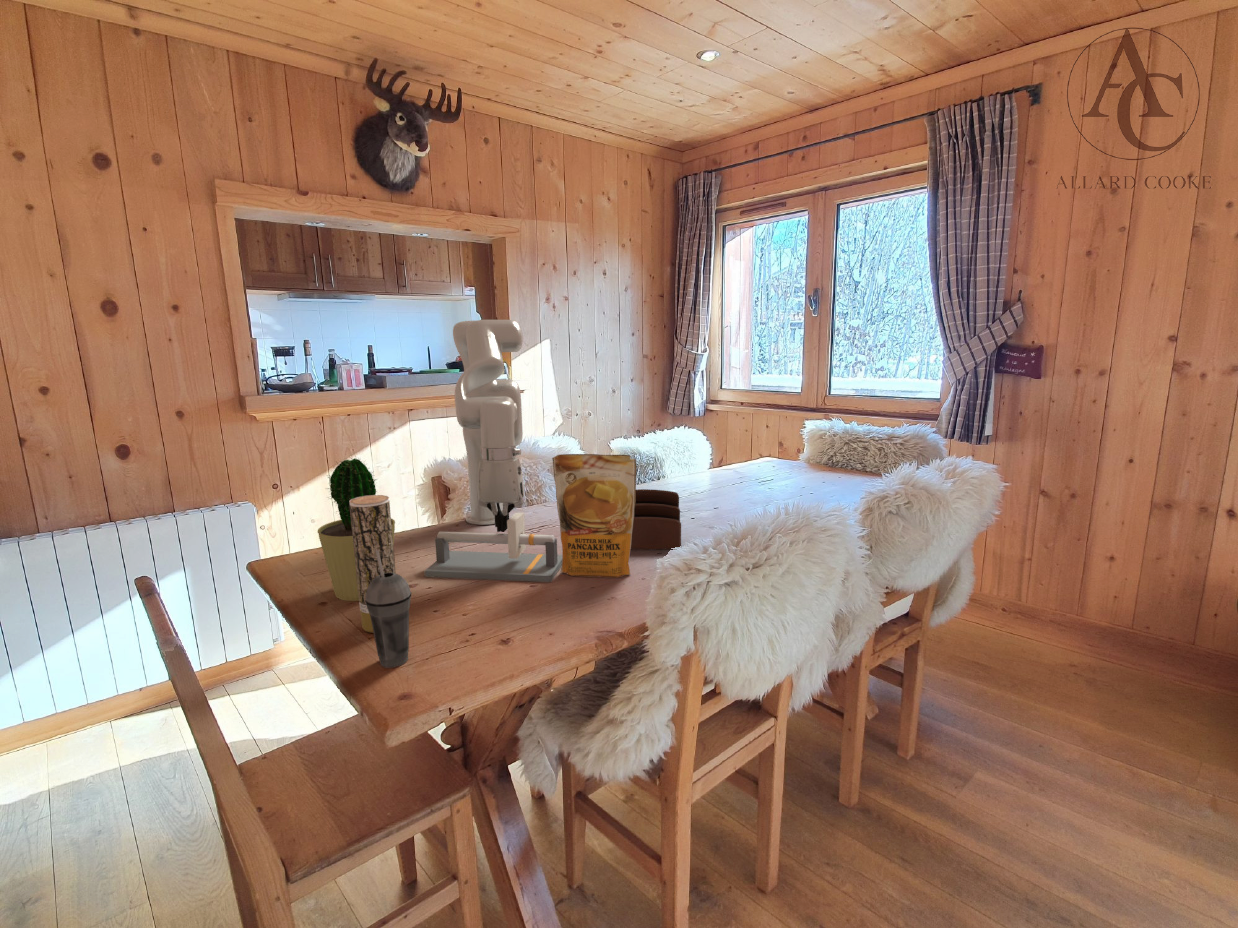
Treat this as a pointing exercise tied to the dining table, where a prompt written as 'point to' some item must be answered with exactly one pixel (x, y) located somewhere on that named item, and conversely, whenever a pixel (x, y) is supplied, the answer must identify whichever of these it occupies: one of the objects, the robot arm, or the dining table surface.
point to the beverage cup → (389, 616)
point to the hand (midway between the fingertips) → (502, 530)
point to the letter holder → (656, 520)
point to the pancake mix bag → (595, 512)
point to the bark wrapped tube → (371, 545)
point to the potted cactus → (345, 526)
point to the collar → (515, 534)
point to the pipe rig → (494, 559)
